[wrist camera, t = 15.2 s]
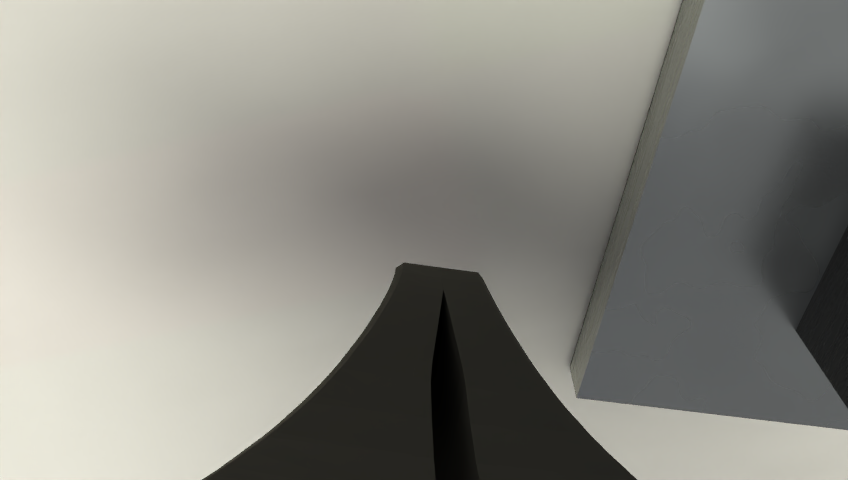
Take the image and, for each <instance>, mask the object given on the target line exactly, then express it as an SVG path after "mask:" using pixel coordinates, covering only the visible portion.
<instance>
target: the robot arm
mask: <svg viewBox="0 0 848 480" xmlns="http://www.w3.org/2000/svg"><path fill="white" fill-rule="evenodd" d="M202 480H637V479H636V478H635V477H634V476H633V475H631V474H630V473H629V472H628V471H627V470H626V469H625V468H624V467H623V466H622V465H621V464H620V463H619V462H617V461H616V460H615V459H614V458H613V457H612V456H611V455H610V454H609V453H608V452H607V451H606V450H605V449H604V448H603V447H602V446H601V445H600V444H599V443H598V442H597V441H596V440H595V439H594V438H593V437H592V436H591V435H590V434H589V433H588V432H587V431H586V430H585V429H584V428H583V426H582V425H581V424H580V423H579V422H578V421H577V420H576V419H575V418H574V416H573V415H572V414H571V413H570V412H569V411H568V410H567V409H566V408H565V406H564V405H563V404H562V403H561V401H560V400H559V399H558V398H557V396H556V395H555V394H554V393H553V391H552V390H551V389H550V387H549V386H548V385H547V383H546V382H545V380H544V379H543V378H542V376H541V375H540V374H539V372H538V371H537V370H536V368H535V367H534V365H533V364H532V362H531V361H530V359H529V358H528V356H527V355H526V353H525V352H524V350H523V349H522V347H521V346H520V344H519V342H518V341H517V339H516V338H515V336H514V335H513V333H512V331H511V330H510V328H509V326H508V325H507V323H506V321H505V320H504V318H503V316H502V314H501V313H500V311H499V309H498V307H497V305H496V303H495V302H494V300H493V298H492V296H491V294H490V292H489V290H488V288H487V286H486V284H485V282H484V280H483V279H482V277H481V276H480V275H479V273H477V272H469V271H462V270H454V269H447V268H439V267H432V266H424V265H417V264H409V263H403V264H401V265H400V266H398V267H397V268H396V271H395V275H394V278H393V281H392V283H391V286H390V288H389V290H388V292H387V294H386V296H385V298H384V299H383V301H382V303H381V305H380V307H379V308H378V310H377V311H376V313H375V314H374V316H373V318H372V319H371V321H370V322H369V324H368V325H367V327H366V328H365V330H364V331H363V333H362V334H361V336H360V337H359V338H358V340H357V341H356V342H355V343H354V345H353V346H352V347H351V348H350V350H349V351H348V352H347V354H346V355H345V356H344V357H343V359H342V360H341V361H340V363H339V364H338V365H337V366H336V367H335V368H334V369H333V371H332V372H331V373H330V374H329V375H328V376H327V377H326V378H325V380H324V381H323V382H322V383H321V384H320V385H319V386H318V387H317V388H316V389H315V390H314V391H313V392H312V393H311V394H310V395H309V396H308V397H307V398H306V399H305V400H304V401H303V402H302V403H301V404H300V405H299V406H297V407H296V408H295V409H294V410H293V411H292V412H291V413H290V414H289V415H288V416H286V417H285V418H284V419H283V420H282V421H281V422H280V423H279V424H277V425H276V426H275V427H274V428H273V429H272V430H270V431H269V432H268V433H267V434H265V435H264V436H263V437H262V438H260V439H259V440H258V441H256V442H255V443H253V444H252V445H251V446H249V447H248V448H247V449H245V450H244V451H243V452H241V453H240V454H238V455H237V456H236V457H234V458H233V459H232V460H230V461H229V462H228V463H226V464H225V465H223V466H222V467H221V468H219V469H218V470H216V471H215V472H213V473H212V474H210V475H209V476H207V477H206V478H204V479H202Z"/></svg>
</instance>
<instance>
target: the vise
mask: <svg viewBox="0 0 848 480" xmlns="http://www.w3.org/2000/svg"><path fill="white" fill-rule="evenodd" d="M847 226H848V0H683V2H682V6H681V9H680V12H679V15H678V18H677V22H676V25H675V28H674V31H673V35H672V38H671V41H670V44H669V48H668V51H667V54H666V57H665V61H664V64H663V67H662V70H661V74H660V77H659V80H658V83H657V87H656V90H655V93H654V96H653V100H652V103H651V106H650V109H649V113H648V116H647V119H646V122H645V126H644V129H643V132H642V135H641V139H640V142H639V145H638V148H637V152H636V155H635V158H634V161H633V165H632V168H631V171H630V174H629V178H628V181H627V184H626V187H625V191H624V194H623V197H622V200H621V204H620V207H619V210H618V213H617V217H616V220H615V223H614V226H613V230H612V233H611V236H610V239H609V243H608V246H607V249H606V252H605V256H604V259H603V262H602V265H601V269H600V272H599V275H598V278H597V282H596V285H595V288H594V291H593V294H592V298H591V301H590V304H589V307H588V311H587V314H586V317H585V320H584V324H583V327H582V330H581V333H580V337H579V340H578V343H577V346H576V350H575V353H574V356H573V359H572V363H571V366H570V371H571V375H572V380H573V384H574V389H575V393H576V398H582V399H591V400H599V401H607V402H616V403H624V404H633V405H641V406H650V407H658V408H666V409H675V410H683V411H692V412H700V413H709V414H717V415H725V416H734V417H742V418H751V419H759V420H768V421H776V422H784V423H793V424H801V425H810V426H818V427H827V428H835V429H843V430H848V408H847V407H846V405H845V404H844V403H843V401H842V400H841V398H840V397H839V395H838V394H837V392H836V391H835V389H834V388H833V386H832V385H831V383H830V382H829V380H828V379H827V377H826V376H825V374H824V373H823V371H822V370H821V368H820V367H819V365H818V364H817V362H816V361H815V359H814V358H813V356H812V355H811V353H810V352H809V350H808V349H807V347H806V346H805V344H804V343H803V341H802V340H801V338H800V337H799V335H798V334H797V332H796V329H797V327H798V325H799V323H800V321H801V319H802V316H803V314H804V312H805V310H806V308H807V306H808V304H809V302H810V300H811V298H812V296H813V294H814V292H815V290H816V288H817V286H818V284H819V282H820V280H821V278H822V276H823V274H824V272H825V270H826V268H827V266H828V264H829V262H830V260H831V258H832V256H833V254H834V252H835V250H836V248H837V246H838V244H839V242H840V240H841V238H842V236H843V234H844V232H845V230H846V228H847Z"/></svg>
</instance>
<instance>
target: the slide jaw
mask: <svg viewBox="0 0 848 480" xmlns="http://www.w3.org/2000/svg"><path fill="white" fill-rule="evenodd" d="M796 332H797V334H798V335H799V337H800V338H801V340H802V341H803V343H804V344H805V346H806V347H807V349H808V350H809V352H810V353H811V355H812V356H813V358H814V359H815V361H816V362H817V364H818V365H819V367H820V368H821V370H822V371H823V373H824V374H825V376H826V377H827V379H828V380H829V382H830V383H831V385H832V386H833V388H834V389H835V391H836V392H837V394H838V395H839V397H840V398H841V400H842V401H843V403H844V404H845V405H846V407H847V408H848V226H847V228H846V230H845V232H844V234H843V236H842V238H841V240H840V242H839V244H838V246H837V248H836V250H835V252H834V254H833V256H832V258H831V260H830V262H829V264H828V266H827V268H826V270H825V272H824V274H823V276H822V278H821V280H820V282H819V284H818V286H817V288H816V290H815V292H814V294H813V296H812V298H811V300H810V302H809V304H808V306H807V308H806V310H805V312H804V314H803V316H802V319H801V321H800V323H799V325H798V327H797V329H796Z"/></svg>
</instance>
